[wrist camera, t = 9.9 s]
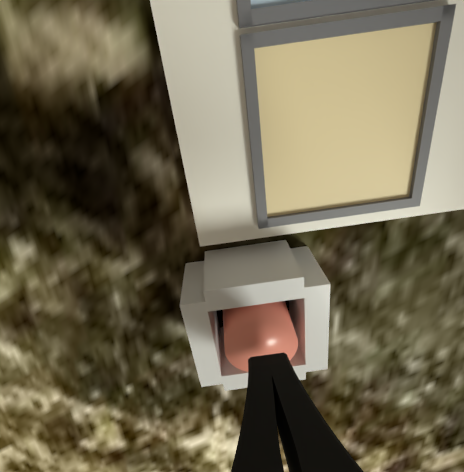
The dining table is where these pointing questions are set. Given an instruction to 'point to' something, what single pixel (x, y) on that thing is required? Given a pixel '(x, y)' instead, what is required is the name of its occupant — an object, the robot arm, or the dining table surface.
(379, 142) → the sheet
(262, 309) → the button
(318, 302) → the button housing
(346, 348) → the dining table surface
